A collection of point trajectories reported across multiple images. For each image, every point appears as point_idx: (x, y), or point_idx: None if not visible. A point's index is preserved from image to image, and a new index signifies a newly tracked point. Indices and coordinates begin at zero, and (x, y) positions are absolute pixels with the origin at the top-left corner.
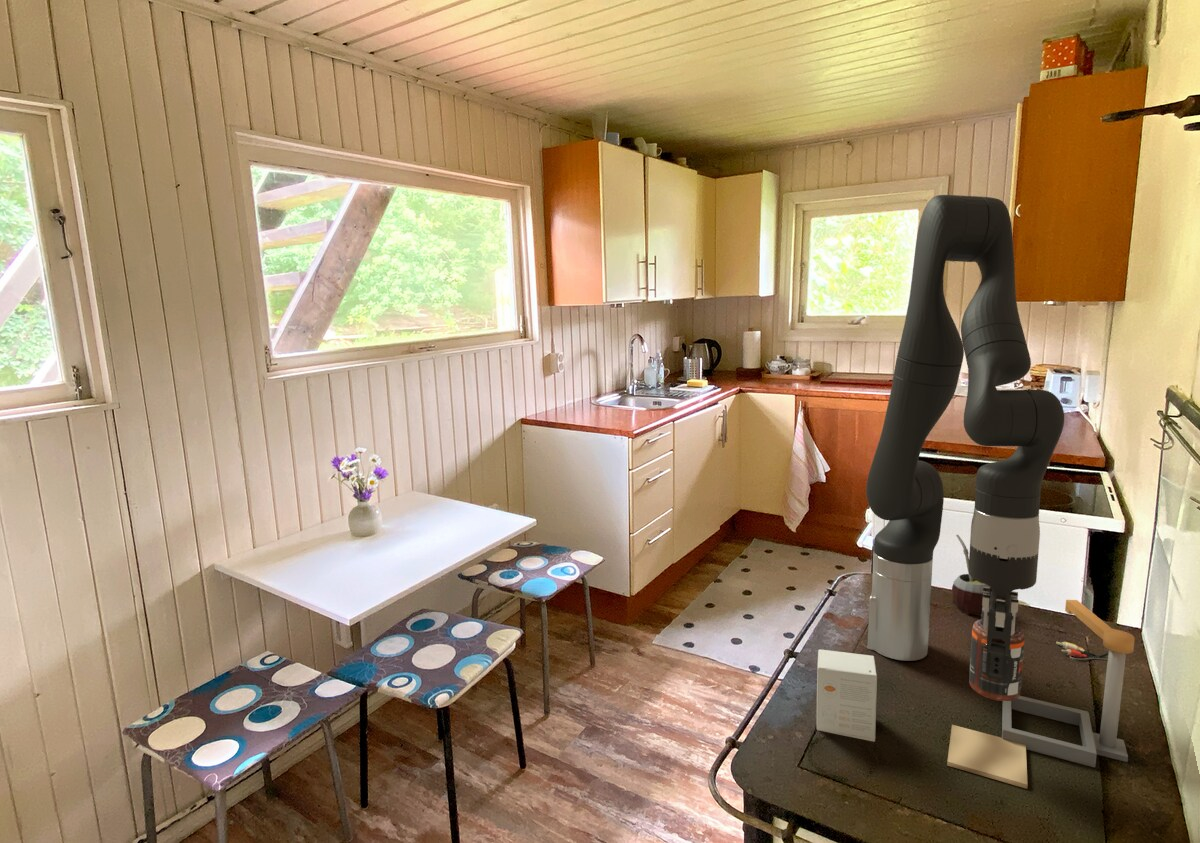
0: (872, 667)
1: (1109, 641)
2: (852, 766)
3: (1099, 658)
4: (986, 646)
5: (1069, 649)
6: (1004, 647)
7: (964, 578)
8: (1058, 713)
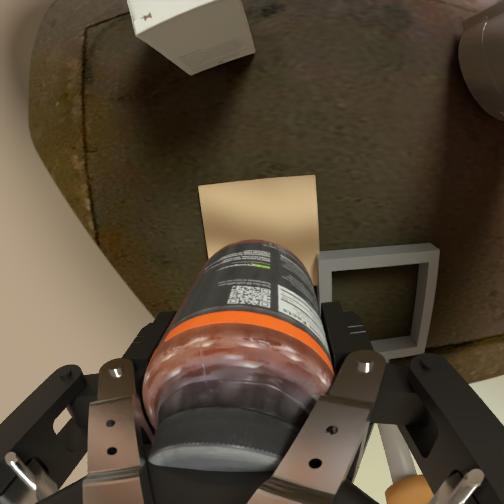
0: (169, 12)
1: (398, 496)
2: (118, 75)
3: None
4: (58, 376)
5: None
6: (74, 422)
7: None
8: (417, 319)
